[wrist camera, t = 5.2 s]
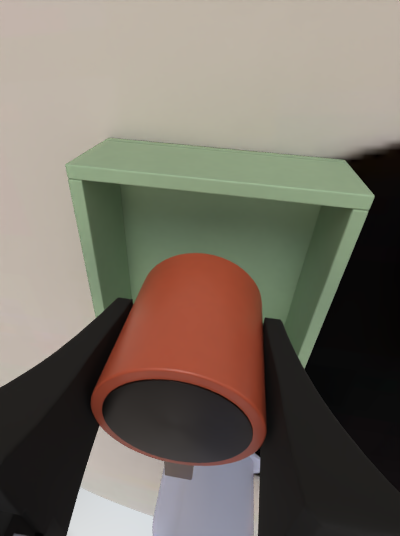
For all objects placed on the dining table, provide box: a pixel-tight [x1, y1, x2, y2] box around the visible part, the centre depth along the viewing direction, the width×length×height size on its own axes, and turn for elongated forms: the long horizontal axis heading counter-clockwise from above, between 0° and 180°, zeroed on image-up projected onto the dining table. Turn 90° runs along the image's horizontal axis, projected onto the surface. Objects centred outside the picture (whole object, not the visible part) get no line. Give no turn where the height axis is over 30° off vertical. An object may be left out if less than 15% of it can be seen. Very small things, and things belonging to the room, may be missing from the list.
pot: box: [91, 253, 267, 480], centre depth 12 cm, size 8×5×6 cm, turn 177°
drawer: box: [66, 138, 374, 368], centre depth 17 cm, size 13×12×4 cm
